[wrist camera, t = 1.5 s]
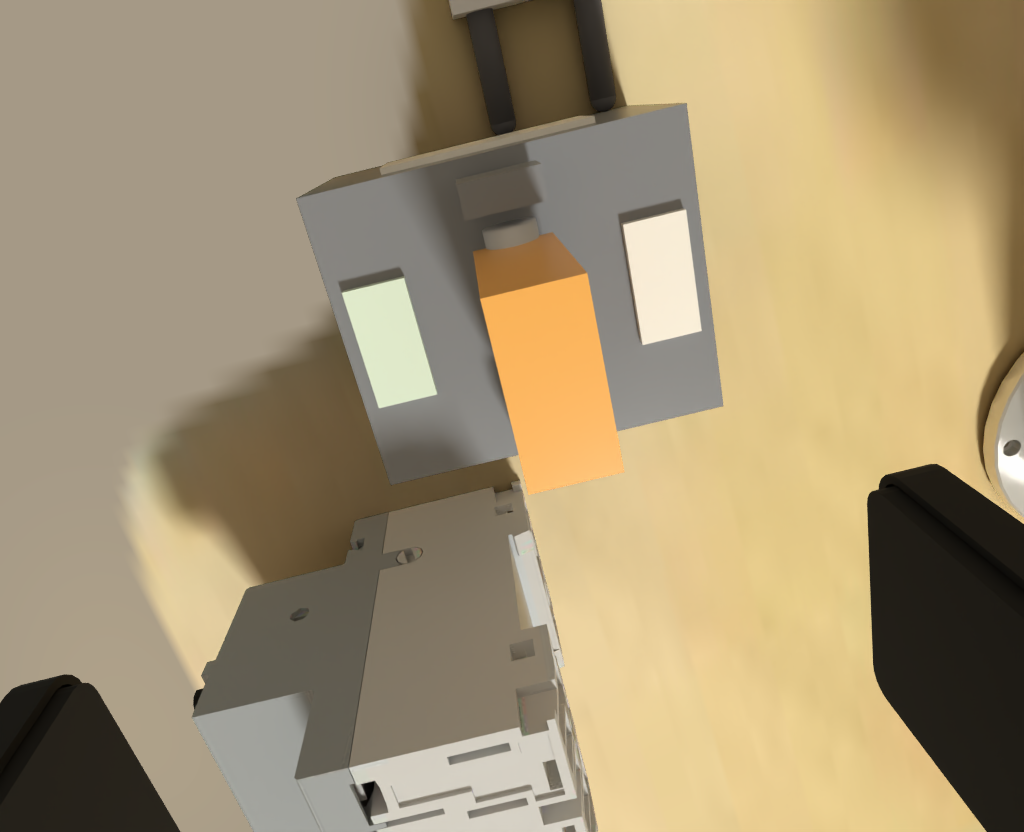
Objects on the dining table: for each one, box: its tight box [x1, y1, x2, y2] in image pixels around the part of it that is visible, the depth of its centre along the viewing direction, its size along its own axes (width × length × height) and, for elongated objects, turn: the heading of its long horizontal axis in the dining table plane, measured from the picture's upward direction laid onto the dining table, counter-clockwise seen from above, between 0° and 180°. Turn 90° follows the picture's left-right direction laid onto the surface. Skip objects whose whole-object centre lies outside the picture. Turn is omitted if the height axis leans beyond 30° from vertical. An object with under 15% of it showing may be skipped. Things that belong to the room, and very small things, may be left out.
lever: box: [473, 217, 624, 495], centre depth 20 cm, size 2×6×7 cm, turn 13°
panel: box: [296, 103, 723, 485], centre depth 27 cm, size 12×10×10 cm
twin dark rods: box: [449, 0, 616, 135], centre depth 27 cm, size 6×8×1 cm
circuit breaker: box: [192, 480, 598, 832], centre depth 30 cm, size 8×14×15 cm, turn 103°
